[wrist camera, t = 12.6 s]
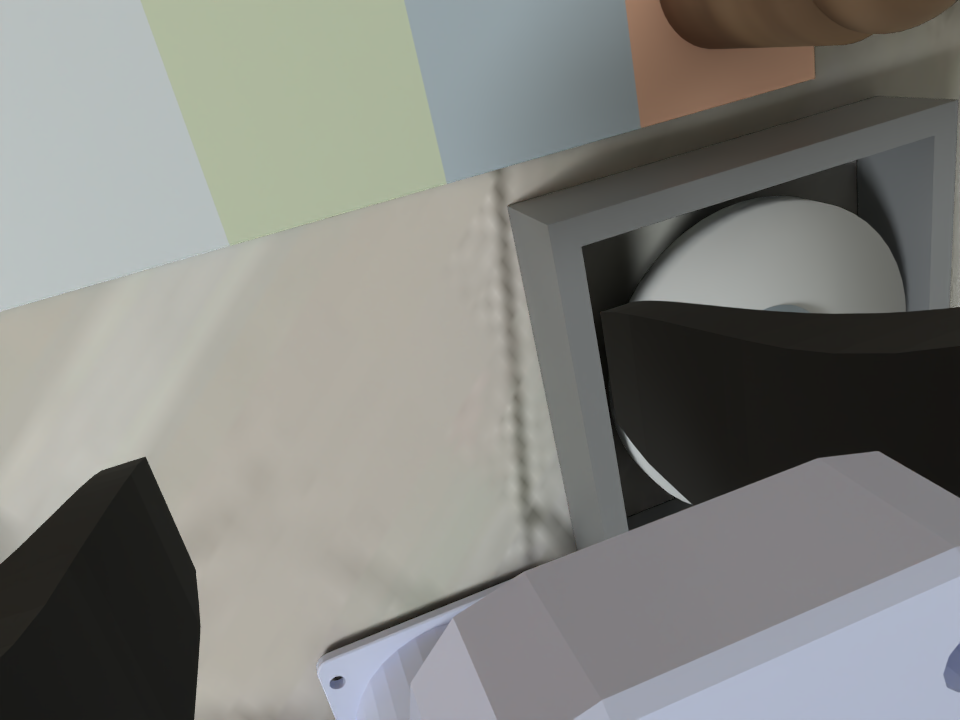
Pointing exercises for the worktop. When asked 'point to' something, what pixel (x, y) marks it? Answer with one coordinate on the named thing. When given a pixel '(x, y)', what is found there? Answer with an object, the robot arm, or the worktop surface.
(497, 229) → the worktop surface
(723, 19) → the walnut pawn
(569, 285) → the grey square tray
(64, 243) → the strip
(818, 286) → the dome
